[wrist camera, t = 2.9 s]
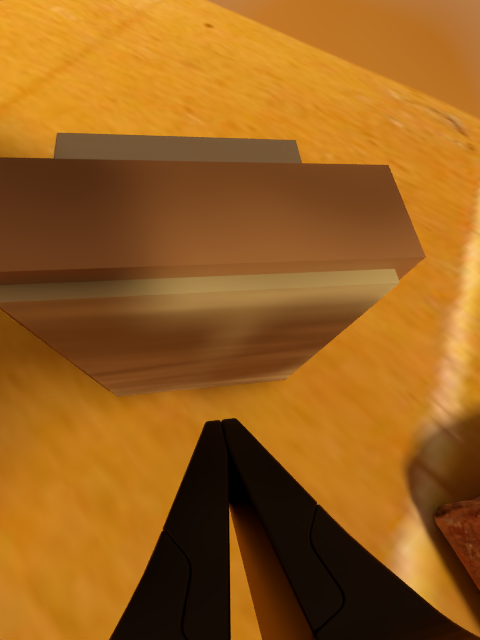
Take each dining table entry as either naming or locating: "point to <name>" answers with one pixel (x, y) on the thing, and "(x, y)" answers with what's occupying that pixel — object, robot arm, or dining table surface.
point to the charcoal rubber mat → (174, 148)
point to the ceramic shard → (463, 532)
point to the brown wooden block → (196, 263)
